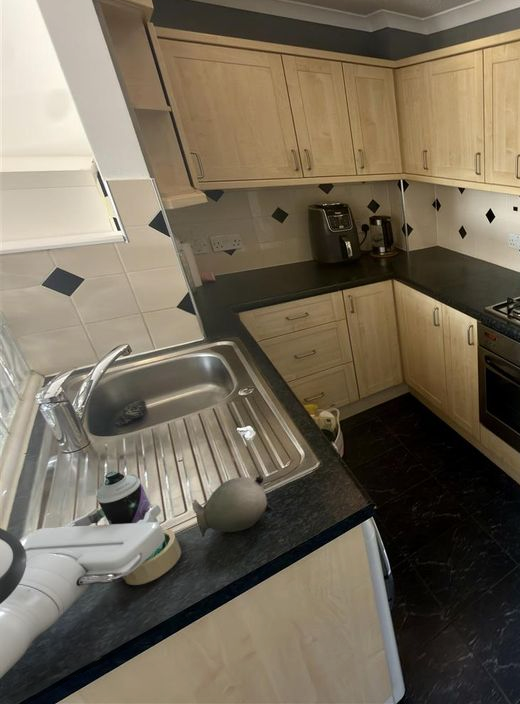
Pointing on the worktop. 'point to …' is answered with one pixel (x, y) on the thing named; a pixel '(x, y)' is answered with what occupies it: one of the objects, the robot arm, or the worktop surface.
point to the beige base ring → (156, 562)
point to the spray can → (124, 501)
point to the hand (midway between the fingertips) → (127, 509)
